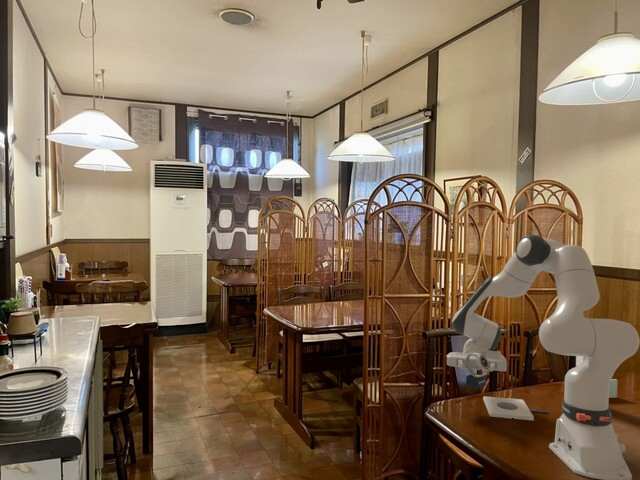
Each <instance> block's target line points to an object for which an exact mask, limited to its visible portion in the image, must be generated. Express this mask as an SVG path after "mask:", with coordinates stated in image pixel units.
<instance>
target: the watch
mask: <svg viewBox="0 0 640 480" xmlns="http://www.w3.org/2000/svg"><path fill="white" fill-rule="evenodd" d="M471 355H476V356H475V357H476V359H477V364H478V366H479V367H480V368H481V370H480V371H481V372H482V374H481V373H476V372H474V370H473V369H472V367H471V364H470V362H469V357H470V356H471ZM465 363H466V368H465V370H466V371H467V373H468V374H469V375H466V377H465V385H466V386H467V387H471V388H474V389H480V388H482V387H485V386H487V373H489V371H488V368H489V362H488V360H487V358H486V357H485V356H484V355H482V354H480V353H471V354H469V355H467V356H466V358H465Z"/></svg>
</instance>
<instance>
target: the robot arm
mask: <svg viewBox="0 0 640 480" xmlns="http://www.w3.org/2000/svg"><path fill="white" fill-rule="evenodd" d="M540 272H545V273H547V274H548V273H549V274H553V275H554V276H553V277H554V281H555V283H554V284H555V288H556V296H557V298H556V299H557V303H556V307H555V309H554V311H553V313H552V314H551V315H550V316H549V317H547V318H546V319H545V320H544V321H543V322H542V323H541V325H540V327H539V330H538V338H539V341H540V344H541V345H542V347H543V348H544V349H545V350H546V351H547V352H550V353H553V354H557V355H561V356H567V357H568V356H569V357H570V356H571V357H572V356H573V357H576V356H586V358H585V360H584V361H583V363H582V364H580V365H579V366H577V367H576V366H575V367H572V368H571V369H569V370H567V372H566V374H565V375H564V393H563V395H564V397H563V398H562V402H561V407H562V409H561V411H562V415H560V416H559V418H557V419H556V423H555V424H556V425H555V434H554V435H555V436H554V442H553V441H552V442H550V443H549V445H548V448H549V449H550V451H552V452H553V453H554V455H556V456H557V457H558V459H560V460H561V461H562V462H563V464H565V465H566V466H567V467H568V468H569V469H570V470H571V471H572V472H573V473H574V474H578V475H580V476H583V477H587V478H591V479H597V480H633V475H632V473H631V470H630V468H629V467H628V463H627V462H626V460H625V458H624V456H623V454H625V453H626V446H625V445H626V444H625V443H620V442H618V440H619V439H620V438H619V433H616V432H615V430H614V425H613V424H612V412H611V408H610V406H609V400H610V398H609V389H610V382H611V379H612V378H613V377H614V374H615V372H616V370H618V368H619V367H620V365H621V364H622V363H623V362H625V361H626V360H627V359H629V358H631V357H633V356H634V355H636V353H637V352H638V350H639V348H640V336H639V335H640V334H639V333H638V331H637V330H636V329H637V328H635V327H634V326H633V325H632V324H631V323H630V322H627V321H621V320H618V319H611V318H593V317H592V318H591V317H585V315H584V312H585V311H588V310H590V309H592V308H593V307H594V306H596V305H597V304H598V303H599V301H600V295H601V294H600V291H599V286H598V282H597V279H596V274H595V271H594V266H593V265H592V261H591V259H590V258H589V255H588V253H587V252H586V249H584V248H583V247H582V246H581V245H578V244H577V245H576V244H564V243H562V242H559V241H557V240H556V239H552V238H548V237H543V236H540V235H539V234H538V235H537V234H536V235H535V234H527V235H524V236H523V237H522V238H521V239H519V241H518V242H517V244H516V249H515V252H513V254H512V255H511V256H510V258H509V259H508V261H507V262H506V264H505V266H504V267H503V269H502V271H500V272H499V273H498V274H496V275H495V276H488V278H486V279H485V280H484V281H483V282H482V283H481V284H480V285H479V287H478V288H477V289H476V290H474V292H473V294H472V295H471V296H470V297H469V298H468V300H467V301H466V302H465V303H464V305H462V307H461V308H460V309H459V310H457V311H456V313H455V314H454V315H453V317H452V319H451V325H452V328H453V330H454V332H455V333H458V334H460V335H463V336H465V337H468V338H469V339H467V340H466V341H465V343H464V346H463V350H462V352H455V351H453V352H449V353H448V354H446V365H447V366H449V367H452V368H453V367H456V368H460V369H461V370H466V363H465V358H466V356H467V355H469V354H471V353H480V354H482V355H484V356H485V357H486V358H487V360H488V362H489V368H488V372H490V373H491V372H493V371H497V372H506V371H507V370H508V369H507V368H508V366H507V365H508V363H507V362H508V361H507V359H506V357H505V356H504V355H503V354H502V353H501V350H498V349H497V347H498V345H499V343H500V341H501V339H502V330H501V327H500V325H499V324H498V323H496V322H494V321H492V320H490V319H488V318H486V317H484V316H482V315H480V314H477V313H476V312H475V311H476V309H477V308H478V307H479V305H481V303H482V302H483V301H484V300H485V299H486V298H488V297H503V298H519V297H522V296H524V295H525V294H526V293H527V292H528V291H529V290H530V288H531V287H532V286H533V284H534V281H535V280H536V278H537V276H538V275H539V273H540ZM475 356H476V355H471V356H470V357H469V362H470V364H471V367H472V369H473V371H482V370H481V368H480V367H479V366H478V364H477V359H476V357H475Z"/></svg>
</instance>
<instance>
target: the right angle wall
mask: <svg viewBox="0 0 640 480" xmlns="http://www.w3.org/2000/svg"><path fill="white" fill-rule="evenodd" d="M617 397H618V379H617V378H614V379H611V382H610V389H609V399H612V398H613V399H615V398H617Z"/></svg>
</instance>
